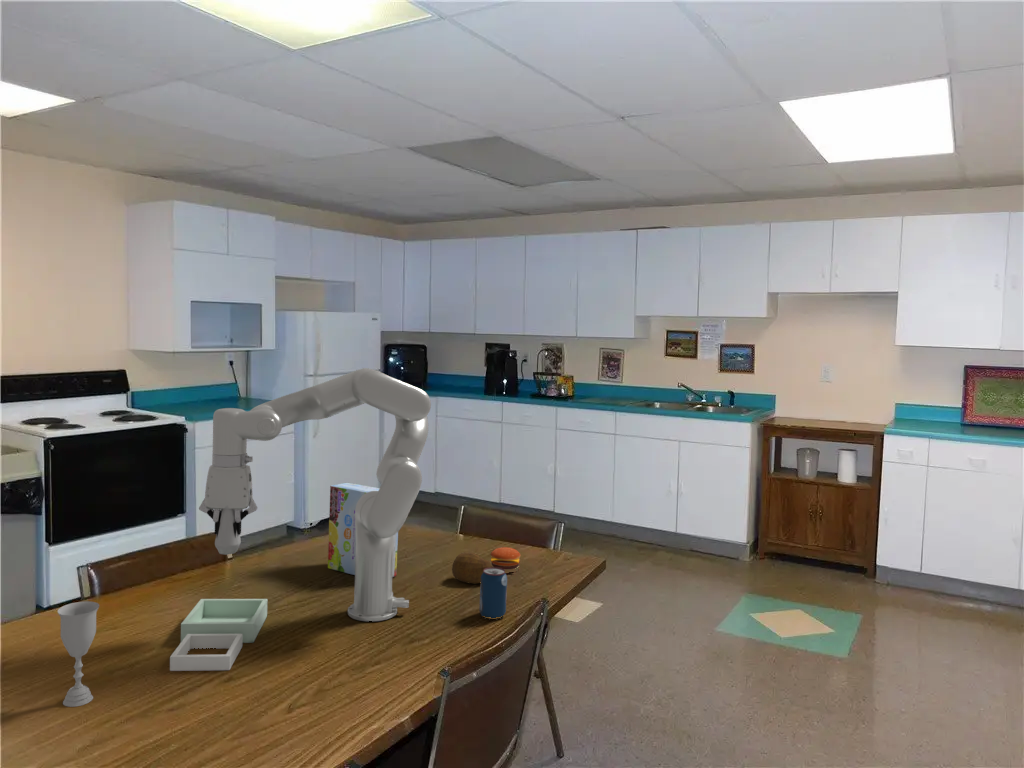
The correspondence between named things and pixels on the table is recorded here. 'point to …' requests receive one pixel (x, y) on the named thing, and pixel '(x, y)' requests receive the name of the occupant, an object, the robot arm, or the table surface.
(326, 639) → the table surface
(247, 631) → the green bin
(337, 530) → the snack box
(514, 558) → the hamburger
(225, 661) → the grey square frame
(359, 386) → the robot arm
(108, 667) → the table surface
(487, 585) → the soda can
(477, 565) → the potato
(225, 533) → the salt shaker
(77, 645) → the chalice
